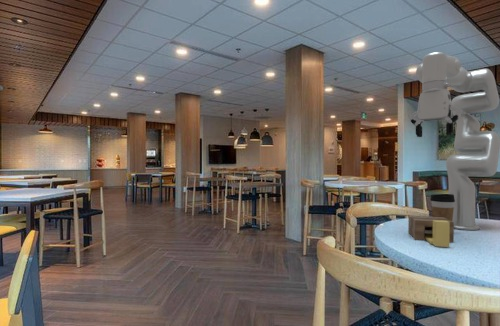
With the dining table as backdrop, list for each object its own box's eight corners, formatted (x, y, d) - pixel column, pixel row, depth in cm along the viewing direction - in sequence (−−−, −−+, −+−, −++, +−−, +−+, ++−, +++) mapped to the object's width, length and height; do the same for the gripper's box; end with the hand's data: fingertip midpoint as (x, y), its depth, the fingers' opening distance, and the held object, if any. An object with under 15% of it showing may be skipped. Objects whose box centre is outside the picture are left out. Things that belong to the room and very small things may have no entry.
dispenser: (408, 233, 118) (408, 215, 118) (443, 235, 115) (443, 217, 115) (415, 240, 108) (415, 220, 108) (454, 242, 105) (454, 222, 105)
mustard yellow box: (419, 234, 116) (419, 213, 116) (434, 235, 115) (434, 214, 115) (433, 246, 100) (433, 221, 100) (451, 247, 98) (451, 222, 98)
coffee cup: (458, 234, 117) (459, 195, 117) (434, 233, 119) (434, 195, 119) (449, 230, 126) (449, 193, 126) (426, 229, 127) (426, 193, 127)
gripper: (465, 85, 105) (465, 135, 105) (413, 94, 119) (413, 138, 119) (458, 81, 101) (458, 133, 101) (404, 91, 114) (404, 136, 114)
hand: (433, 136), depth 110 cm, fingers open, 9 cm apart
